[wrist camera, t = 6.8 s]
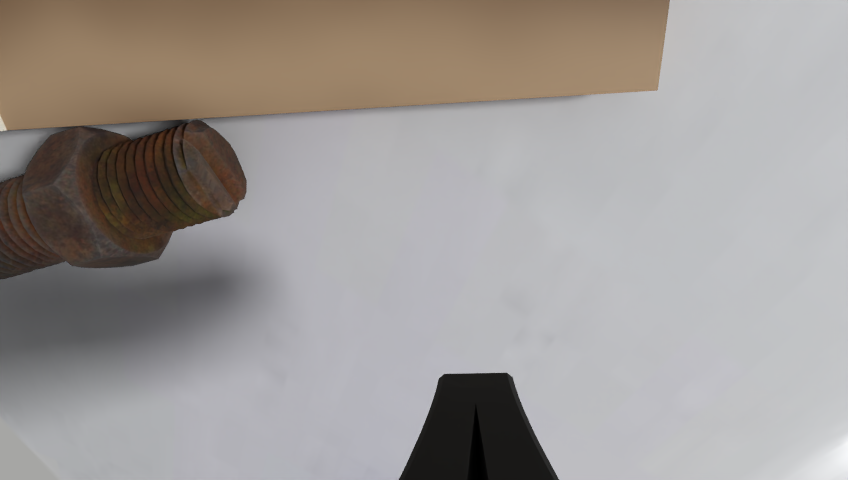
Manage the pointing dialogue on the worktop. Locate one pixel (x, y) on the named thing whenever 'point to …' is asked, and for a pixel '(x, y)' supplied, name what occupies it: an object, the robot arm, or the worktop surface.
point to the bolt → (114, 196)
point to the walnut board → (311, 55)
